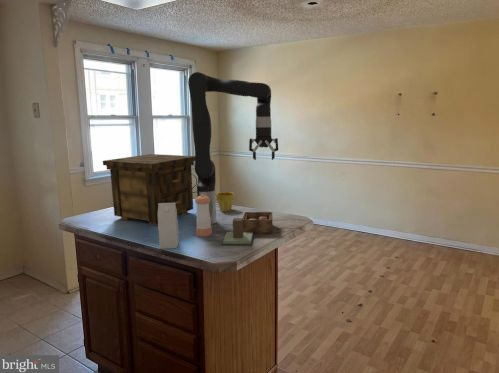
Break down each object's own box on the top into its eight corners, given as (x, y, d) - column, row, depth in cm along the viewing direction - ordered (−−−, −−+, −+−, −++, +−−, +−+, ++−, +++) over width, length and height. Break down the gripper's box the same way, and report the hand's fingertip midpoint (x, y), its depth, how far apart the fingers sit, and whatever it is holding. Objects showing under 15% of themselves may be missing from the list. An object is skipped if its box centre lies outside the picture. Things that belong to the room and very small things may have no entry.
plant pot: (232, 212, 211) (231, 195, 209) (214, 211, 213) (214, 195, 211) (236, 208, 221) (235, 192, 219) (219, 207, 223) (219, 191, 221)
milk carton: (162, 243, 162) (159, 201, 158) (178, 242, 162) (176, 200, 159) (159, 249, 155) (156, 205, 151) (176, 248, 155) (174, 204, 152)
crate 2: (242, 233, 173) (242, 219, 172) (244, 224, 187) (244, 212, 185) (272, 233, 172) (272, 219, 171) (272, 225, 186) (272, 212, 184)
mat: (221, 245, 158) (221, 244, 158) (225, 235, 171) (225, 234, 171) (251, 245, 157) (251, 244, 157) (253, 235, 170) (253, 234, 170)
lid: (222, 243, 159) (222, 223, 157) (227, 234, 171) (226, 215, 169) (250, 243, 158) (250, 223, 156) (252, 234, 170) (252, 215, 168)
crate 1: (154, 206, 230) (150, 154, 223) (199, 212, 213) (196, 156, 206) (108, 220, 200) (102, 160, 194) (156, 229, 183) (151, 164, 177)
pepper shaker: (195, 232, 176) (193, 193, 172) (210, 231, 178) (208, 192, 174) (197, 237, 169) (195, 196, 165) (213, 235, 171) (211, 195, 167)
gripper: (248, 126, 174) (248, 160, 177) (278, 126, 173) (278, 160, 176) (249, 126, 182) (249, 159, 185) (278, 125, 180) (278, 158, 184)
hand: (263, 159), depth 180 cm, fingers open, 8 cm apart
